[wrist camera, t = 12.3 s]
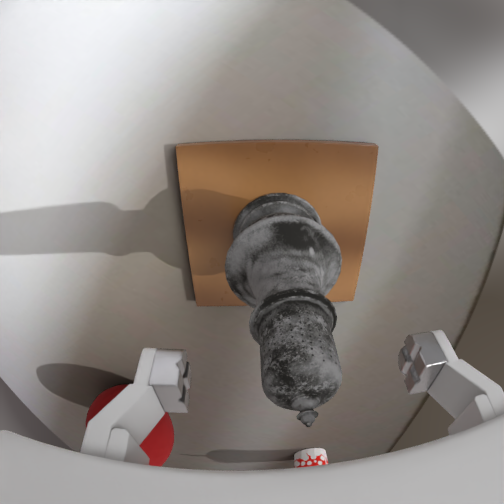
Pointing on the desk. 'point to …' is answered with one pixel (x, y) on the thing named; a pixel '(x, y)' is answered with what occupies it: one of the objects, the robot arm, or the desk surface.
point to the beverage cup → (310, 457)
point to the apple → (155, 442)
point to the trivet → (265, 182)
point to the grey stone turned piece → (288, 298)
